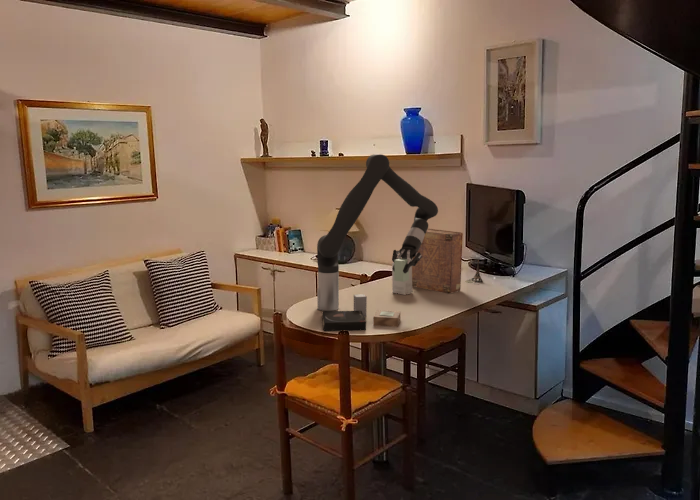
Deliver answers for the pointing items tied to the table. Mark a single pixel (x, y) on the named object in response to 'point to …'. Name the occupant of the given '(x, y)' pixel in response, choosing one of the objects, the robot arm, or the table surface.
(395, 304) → the table surface
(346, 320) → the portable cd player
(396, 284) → the skincare box
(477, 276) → the eiffel tower figurine
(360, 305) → the grey pillar
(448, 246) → the book
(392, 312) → the walnut plinth
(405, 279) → the sage pillar
